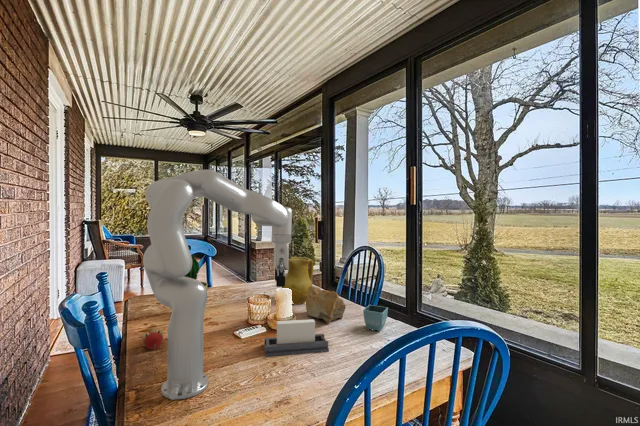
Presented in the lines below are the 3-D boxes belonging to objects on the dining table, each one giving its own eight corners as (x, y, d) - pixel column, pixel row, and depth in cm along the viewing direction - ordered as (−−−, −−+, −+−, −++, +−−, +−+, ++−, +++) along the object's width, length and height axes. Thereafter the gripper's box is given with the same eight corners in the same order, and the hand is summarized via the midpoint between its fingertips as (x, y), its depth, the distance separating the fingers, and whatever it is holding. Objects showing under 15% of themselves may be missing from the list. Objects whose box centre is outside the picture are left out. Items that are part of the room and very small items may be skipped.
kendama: (139, 340, 127) (139, 351, 111) (142, 323, 128) (143, 332, 113) (160, 340, 131) (163, 351, 115) (163, 324, 132) (167, 333, 116)
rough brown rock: (356, 325, 146) (358, 292, 147) (325, 328, 138) (327, 293, 139) (330, 312, 166) (332, 283, 167) (302, 313, 158) (304, 283, 159)
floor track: (328, 351, 116) (328, 343, 116) (265, 356, 111) (265, 348, 111) (322, 340, 126) (322, 332, 126) (264, 344, 121) (264, 336, 121)
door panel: (314, 345, 119) (315, 322, 118) (277, 348, 116) (277, 324, 116) (313, 341, 122) (313, 318, 122) (276, 344, 119) (276, 320, 119)
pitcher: (278, 297, 184) (281, 254, 183) (309, 297, 189) (312, 255, 189) (283, 307, 168) (287, 260, 167) (317, 306, 173) (320, 261, 172)
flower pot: (362, 330, 137) (362, 309, 137) (369, 323, 145) (369, 304, 145) (382, 334, 133) (382, 313, 133) (387, 327, 141) (388, 307, 141)
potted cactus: (208, 319, 148) (208, 255, 148) (171, 322, 142) (172, 256, 142) (206, 309, 162) (207, 250, 162) (173, 312, 157) (174, 251, 156)
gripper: (293, 241, 113) (291, 289, 113) (289, 237, 130) (288, 279, 130) (272, 240, 112) (270, 289, 112) (270, 237, 129) (269, 279, 129)
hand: (279, 283), depth 121 cm, fingers open, 9 cm apart
